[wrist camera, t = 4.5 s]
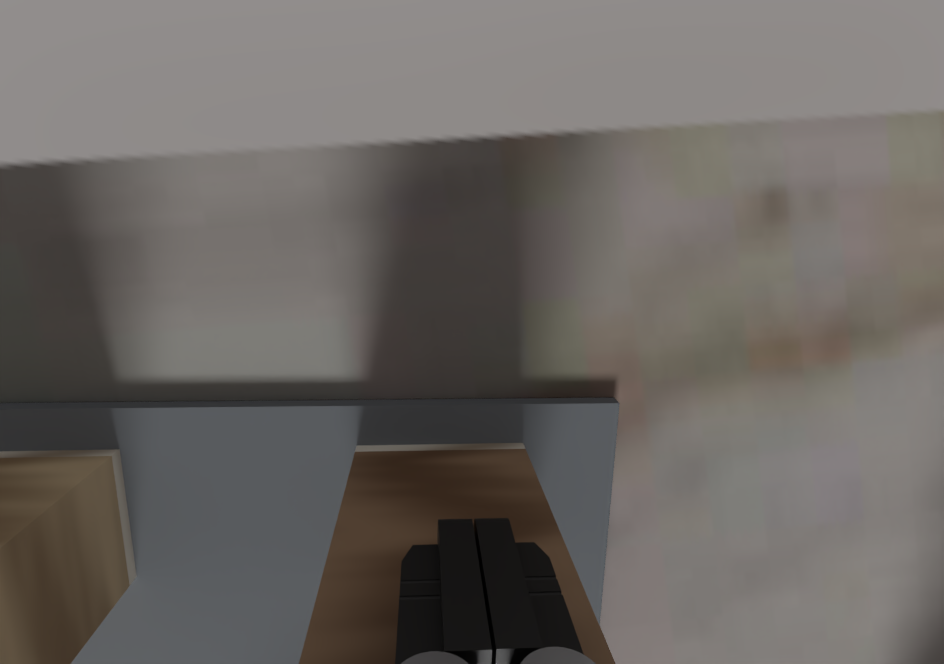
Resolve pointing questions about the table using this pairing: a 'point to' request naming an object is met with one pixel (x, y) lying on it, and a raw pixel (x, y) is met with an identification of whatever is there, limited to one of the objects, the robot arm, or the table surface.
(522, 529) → the walnut block
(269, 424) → the mat
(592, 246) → the table surface
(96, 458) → the oak block
